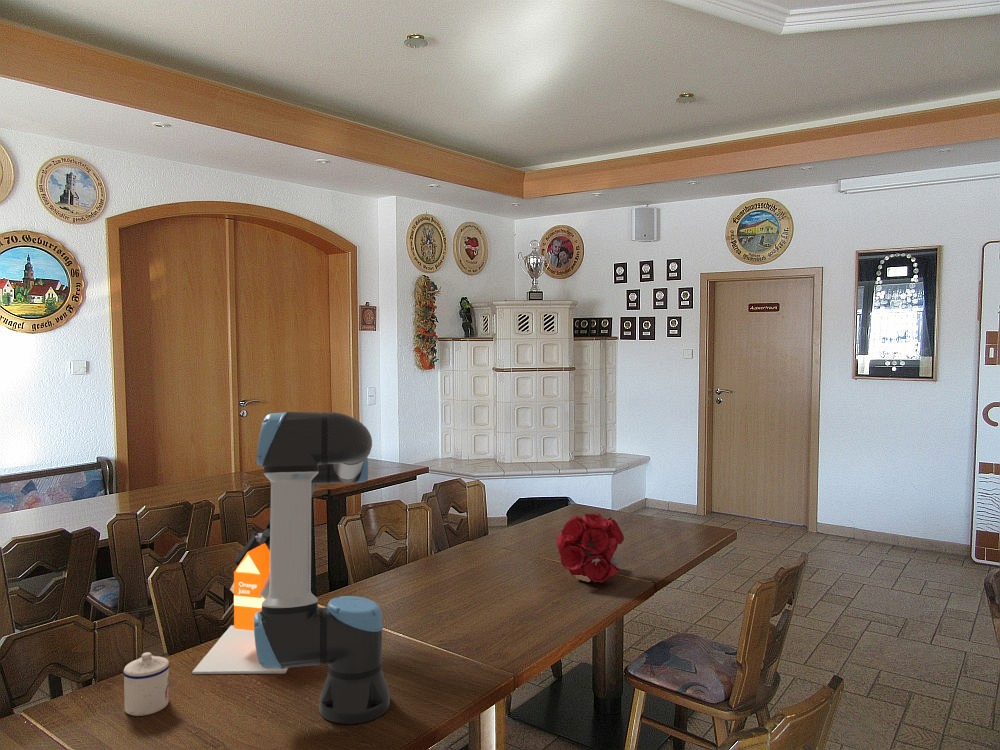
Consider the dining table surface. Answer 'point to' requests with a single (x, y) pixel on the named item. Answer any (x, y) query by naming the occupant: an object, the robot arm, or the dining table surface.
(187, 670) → the dining table surface
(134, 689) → the teacup with lid
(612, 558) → the bouquet
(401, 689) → the dining table surface
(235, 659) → the rubber mat
